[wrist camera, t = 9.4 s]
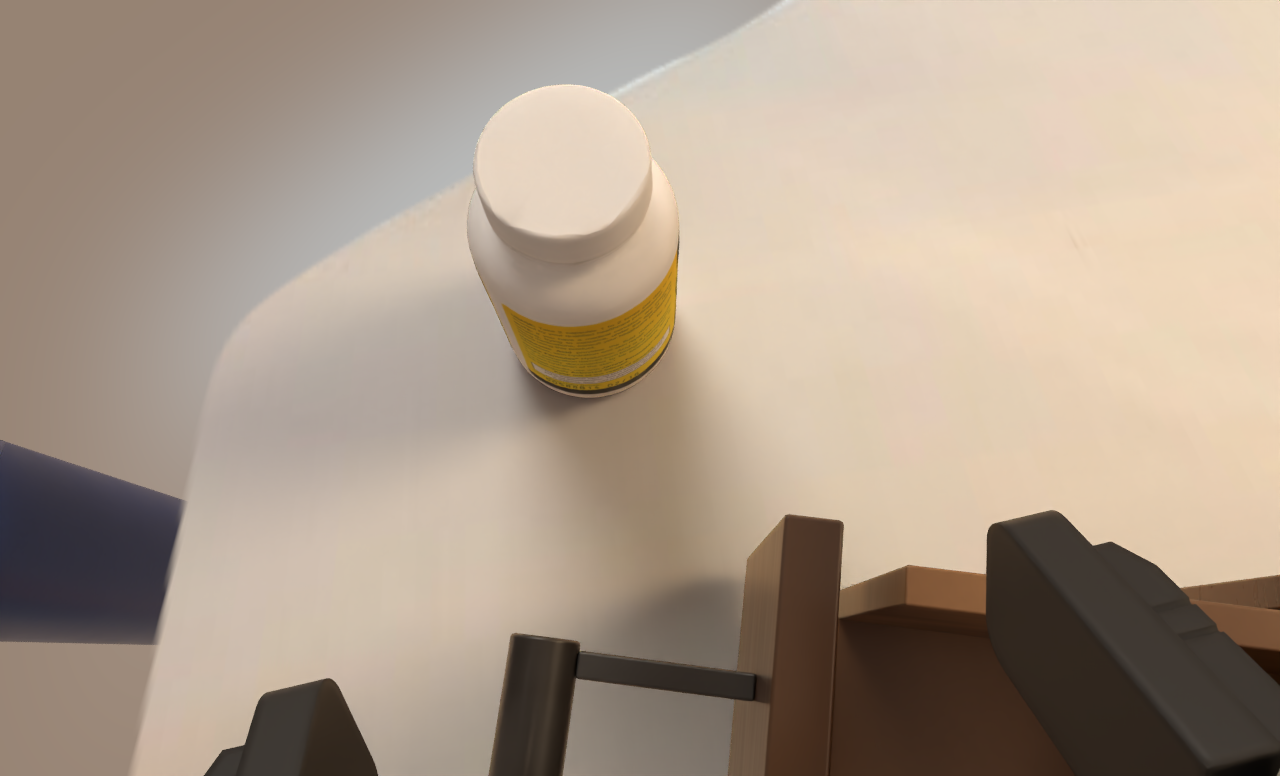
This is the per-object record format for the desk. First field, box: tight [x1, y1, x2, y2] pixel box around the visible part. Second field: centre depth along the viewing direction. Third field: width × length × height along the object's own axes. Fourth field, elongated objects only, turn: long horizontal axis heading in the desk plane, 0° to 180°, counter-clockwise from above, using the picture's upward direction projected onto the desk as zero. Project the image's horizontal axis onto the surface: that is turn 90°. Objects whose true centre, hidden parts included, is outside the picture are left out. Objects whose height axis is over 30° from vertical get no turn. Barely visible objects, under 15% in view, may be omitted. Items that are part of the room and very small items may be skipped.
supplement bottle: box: [467, 84, 679, 398], centre depth 24 cm, size 5×5×10 cm
